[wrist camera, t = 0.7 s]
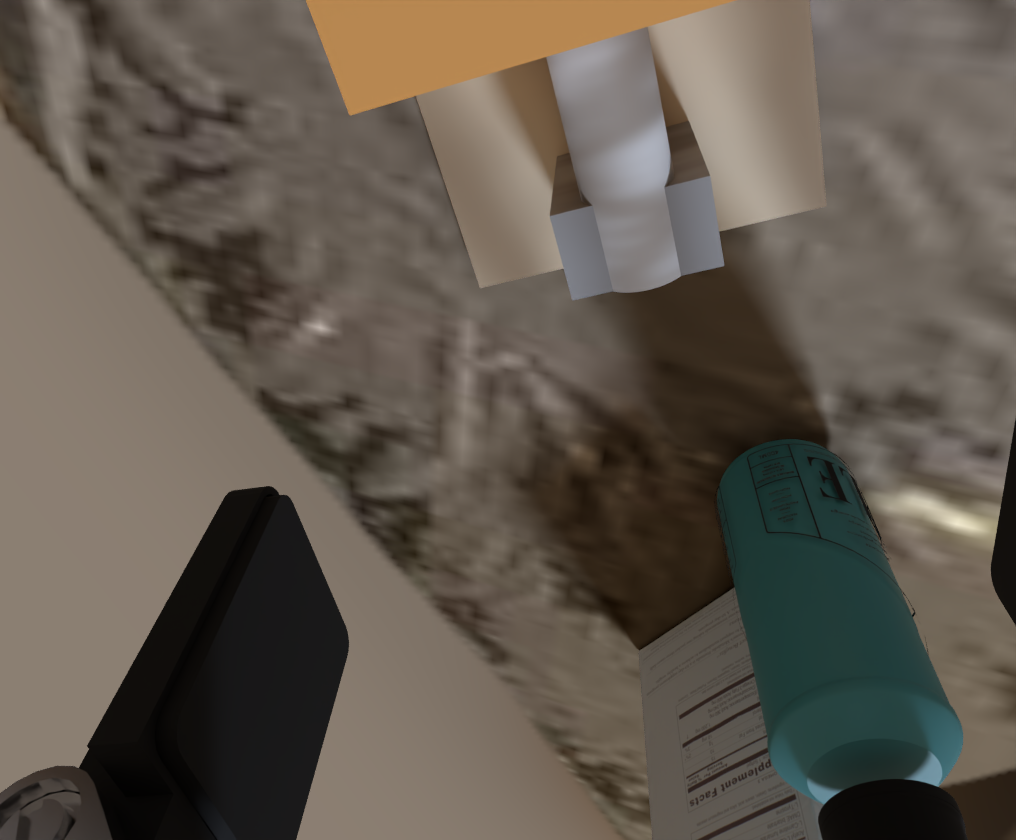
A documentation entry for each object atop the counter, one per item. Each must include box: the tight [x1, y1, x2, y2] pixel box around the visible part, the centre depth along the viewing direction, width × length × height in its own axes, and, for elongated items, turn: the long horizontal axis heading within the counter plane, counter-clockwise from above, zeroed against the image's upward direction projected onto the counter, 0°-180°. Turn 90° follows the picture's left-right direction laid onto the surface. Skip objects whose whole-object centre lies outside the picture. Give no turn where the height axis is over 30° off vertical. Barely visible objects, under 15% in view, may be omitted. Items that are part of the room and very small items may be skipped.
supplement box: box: [639, 587, 824, 840], centre depth 41 cm, size 10×9×17 cm
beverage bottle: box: [714, 439, 968, 840], centre depth 32 cm, size 6×7×20 cm
